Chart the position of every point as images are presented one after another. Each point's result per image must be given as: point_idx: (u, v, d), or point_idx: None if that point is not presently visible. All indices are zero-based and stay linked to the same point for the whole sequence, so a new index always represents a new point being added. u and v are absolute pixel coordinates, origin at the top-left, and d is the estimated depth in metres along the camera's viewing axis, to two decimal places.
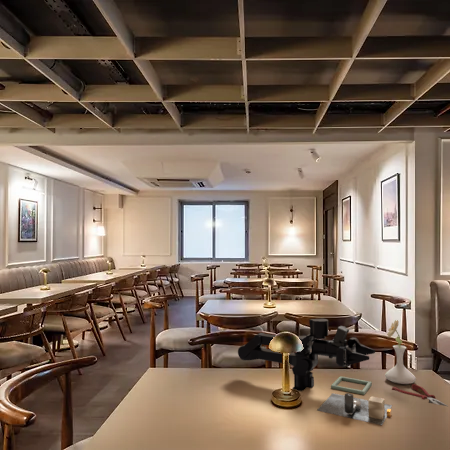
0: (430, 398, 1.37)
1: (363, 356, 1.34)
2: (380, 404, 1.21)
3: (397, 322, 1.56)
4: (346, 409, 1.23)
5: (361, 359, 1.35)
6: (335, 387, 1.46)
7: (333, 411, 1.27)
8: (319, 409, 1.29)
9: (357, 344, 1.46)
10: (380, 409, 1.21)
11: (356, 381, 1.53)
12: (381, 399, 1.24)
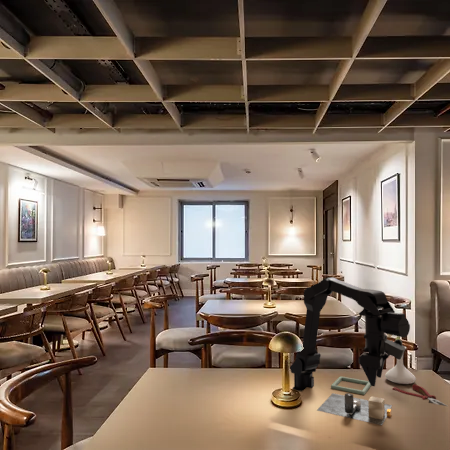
0: (431, 399, 1.37)
1: (373, 381, 1.20)
2: (380, 404, 1.21)
3: None
4: (346, 409, 1.23)
5: (369, 378, 1.20)
6: (335, 387, 1.46)
7: (333, 411, 1.27)
8: (319, 409, 1.29)
9: (384, 358, 1.28)
10: (380, 409, 1.21)
11: (356, 381, 1.53)
12: (381, 399, 1.24)
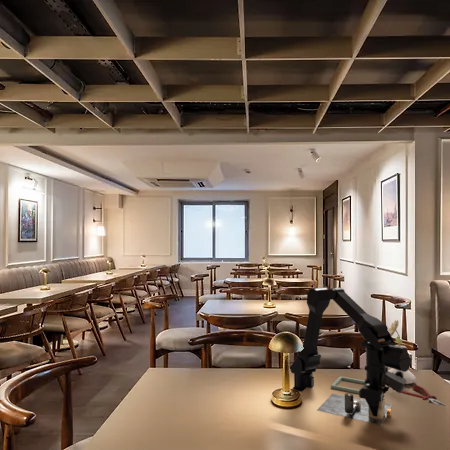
0: (431, 399, 1.37)
1: (376, 411, 1.21)
2: (380, 404, 1.21)
3: (397, 322, 1.56)
4: (346, 409, 1.23)
5: (372, 408, 1.22)
6: (335, 387, 1.46)
7: (333, 411, 1.27)
8: (319, 409, 1.29)
9: (383, 391, 1.25)
10: (380, 409, 1.21)
11: (356, 381, 1.53)
12: None
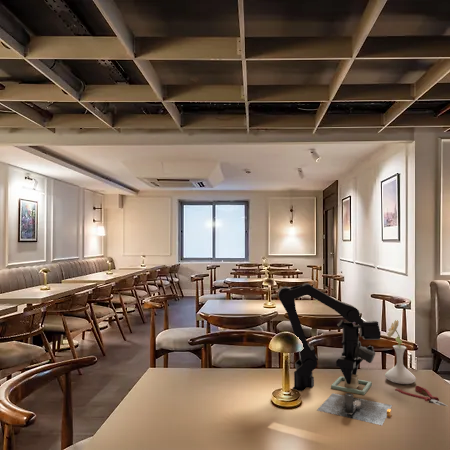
0: (433, 400, 1.35)
1: (349, 379, 1.46)
2: (354, 379, 1.47)
3: (397, 322, 1.56)
4: (346, 409, 1.23)
5: (346, 377, 1.46)
6: (335, 387, 1.46)
7: (333, 411, 1.27)
8: (319, 409, 1.29)
9: (358, 362, 1.52)
10: (354, 383, 1.47)
11: None
12: (355, 375, 1.49)
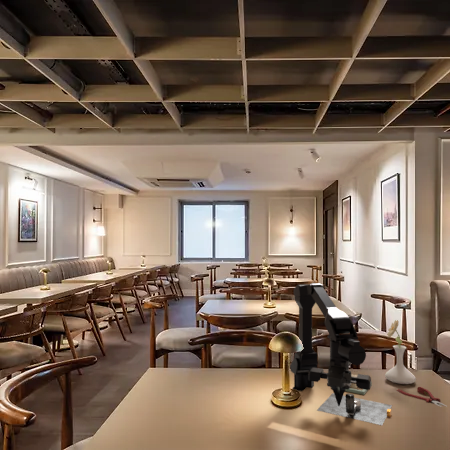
0: (435, 401, 1.34)
1: None
2: None
3: (397, 322, 1.57)
4: (347, 409, 1.23)
5: None
6: None
7: (333, 411, 1.27)
8: (319, 409, 1.29)
9: None
10: (354, 383, 1.47)
11: None
12: (355, 375, 1.49)
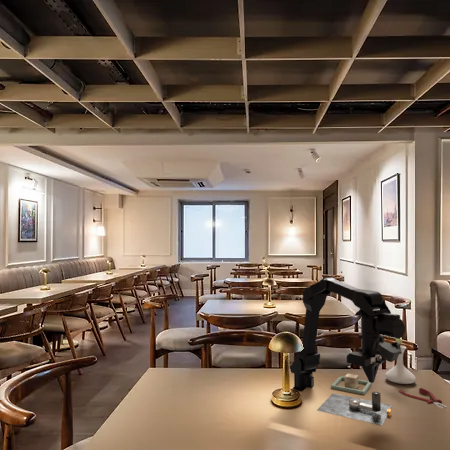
0: (436, 403, 1.33)
1: (371, 377, 1.23)
2: (354, 379, 1.47)
3: None
4: (379, 408, 1.24)
5: (367, 374, 1.23)
6: (335, 387, 1.46)
7: (333, 411, 1.27)
8: (319, 409, 1.29)
9: None
10: (354, 383, 1.47)
11: None
12: (355, 375, 1.49)
